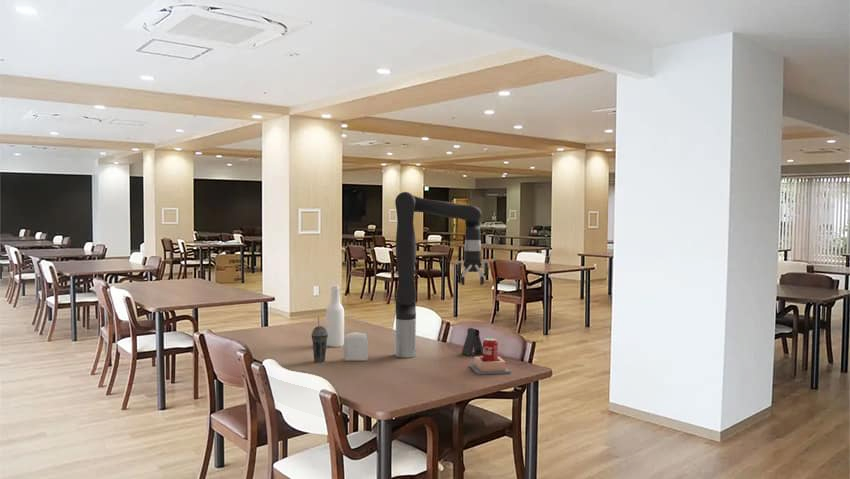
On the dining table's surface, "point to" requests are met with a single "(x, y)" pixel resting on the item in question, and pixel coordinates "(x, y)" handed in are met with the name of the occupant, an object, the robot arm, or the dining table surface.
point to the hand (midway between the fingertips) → (472, 285)
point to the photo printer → (356, 347)
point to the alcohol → (335, 319)
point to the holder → (490, 366)
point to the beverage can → (490, 349)
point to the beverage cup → (319, 343)
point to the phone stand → (472, 343)
